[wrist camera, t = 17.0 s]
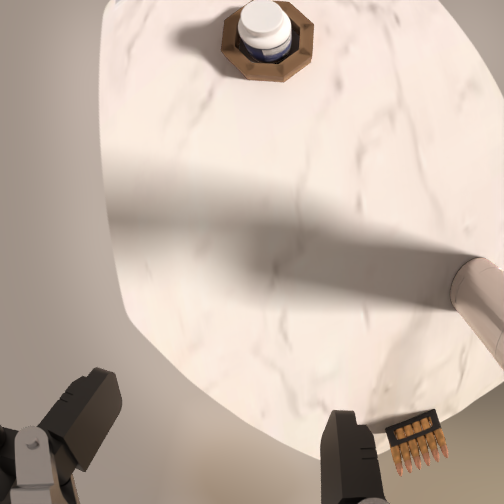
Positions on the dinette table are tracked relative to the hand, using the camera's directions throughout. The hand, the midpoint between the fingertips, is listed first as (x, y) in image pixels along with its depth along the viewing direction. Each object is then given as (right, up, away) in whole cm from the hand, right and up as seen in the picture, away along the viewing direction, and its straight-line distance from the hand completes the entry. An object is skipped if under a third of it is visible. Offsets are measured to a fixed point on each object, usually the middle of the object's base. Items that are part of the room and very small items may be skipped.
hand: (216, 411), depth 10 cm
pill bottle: (+3, +31, +21) cm, 37 cm away
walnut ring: (+3, +31, +21) cm, 37 cm away
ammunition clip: (+32, -28, +38) cm, 57 cm away
